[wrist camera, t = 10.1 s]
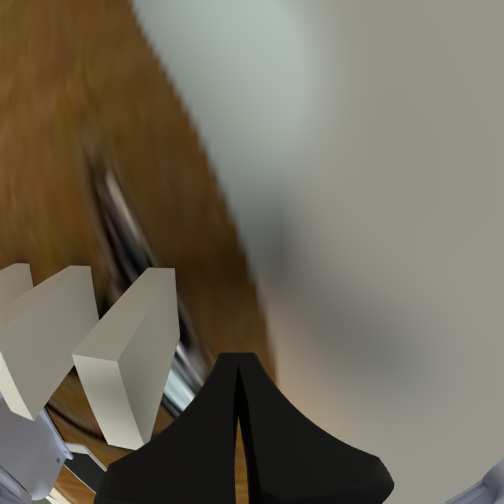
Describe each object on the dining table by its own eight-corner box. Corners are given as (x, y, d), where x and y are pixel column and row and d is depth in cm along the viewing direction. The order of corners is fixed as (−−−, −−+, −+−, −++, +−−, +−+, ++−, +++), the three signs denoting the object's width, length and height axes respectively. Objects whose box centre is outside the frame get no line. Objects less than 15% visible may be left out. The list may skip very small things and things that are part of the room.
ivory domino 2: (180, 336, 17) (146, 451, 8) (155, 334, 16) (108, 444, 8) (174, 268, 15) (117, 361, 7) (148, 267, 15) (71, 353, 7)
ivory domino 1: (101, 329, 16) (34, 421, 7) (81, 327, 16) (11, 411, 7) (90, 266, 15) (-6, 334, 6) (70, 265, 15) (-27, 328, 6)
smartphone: (105, 502, 23) (38, 438, 19) (106, 498, 23) (41, 435, 19) (149, 508, 23) (82, 445, 19) (150, 504, 23) (84, 441, 20)
